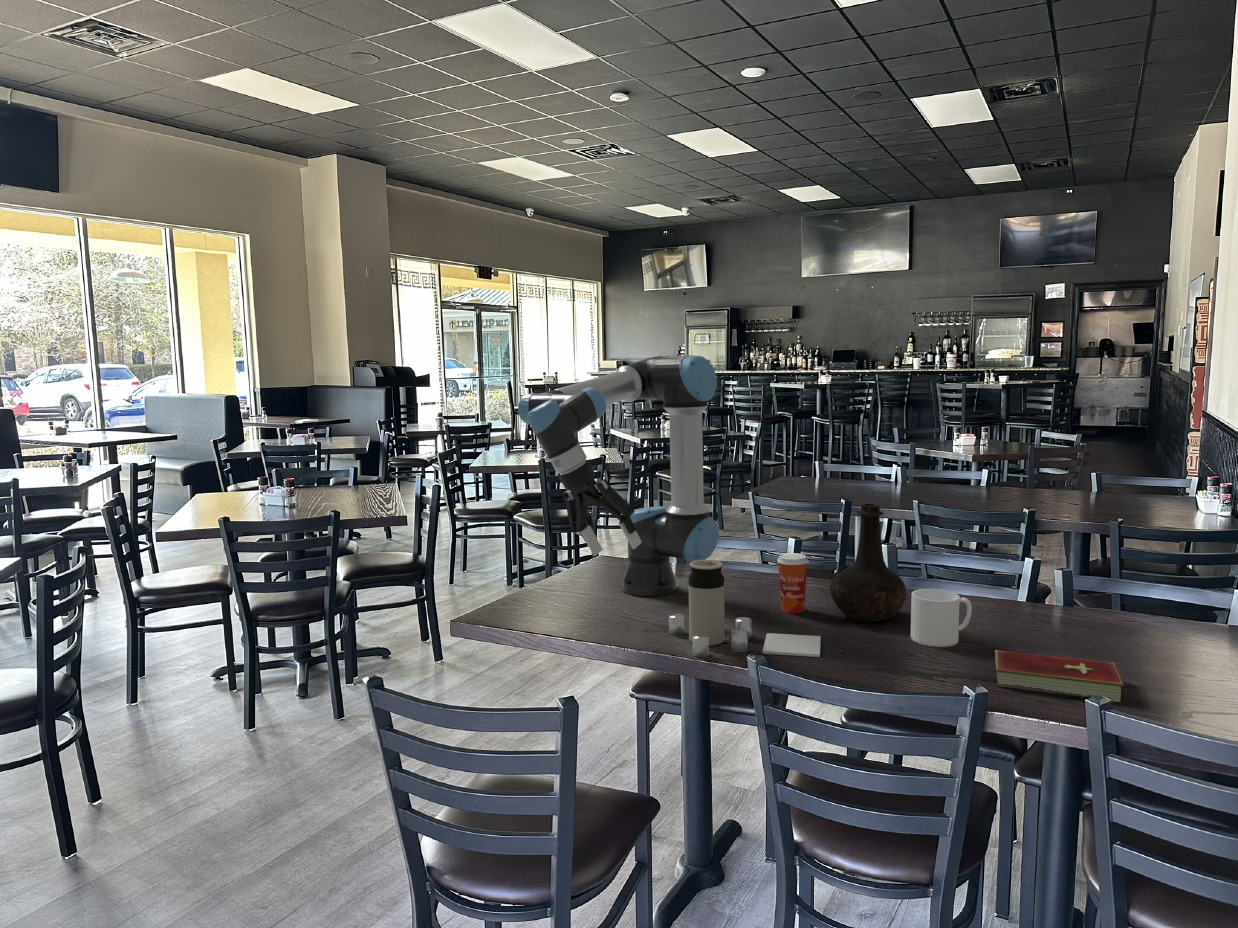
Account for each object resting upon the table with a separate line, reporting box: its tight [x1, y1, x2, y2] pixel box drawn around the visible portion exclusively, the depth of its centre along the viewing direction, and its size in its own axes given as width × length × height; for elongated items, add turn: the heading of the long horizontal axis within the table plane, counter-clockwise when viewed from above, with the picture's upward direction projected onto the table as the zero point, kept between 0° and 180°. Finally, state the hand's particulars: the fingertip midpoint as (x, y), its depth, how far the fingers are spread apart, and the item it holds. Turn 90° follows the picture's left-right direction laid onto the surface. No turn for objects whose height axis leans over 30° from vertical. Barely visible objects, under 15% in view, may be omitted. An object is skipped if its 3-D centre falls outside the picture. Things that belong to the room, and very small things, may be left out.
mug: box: [910, 588, 973, 648], centre depth 183 cm, size 13×10×10 cm
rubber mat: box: [762, 632, 821, 658], centre depth 182 cm, size 12×12×1 cm
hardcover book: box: [994, 649, 1125, 703], centre depth 158 cm, size 12×21×4 cm, turn 66°
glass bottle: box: [829, 503, 907, 623], centre depth 200 cm, size 18×18×28 cm
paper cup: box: [776, 552, 810, 614], centre depth 207 cm, size 8×8×14 cm
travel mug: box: [688, 559, 726, 647], centre depth 185 cm, size 8×8×18 cm
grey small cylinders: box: [668, 613, 752, 658], centre depth 186 cm, size 22×19×4 cm
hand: (617, 549), depth 185 cm, fingers open, 13 cm apart
